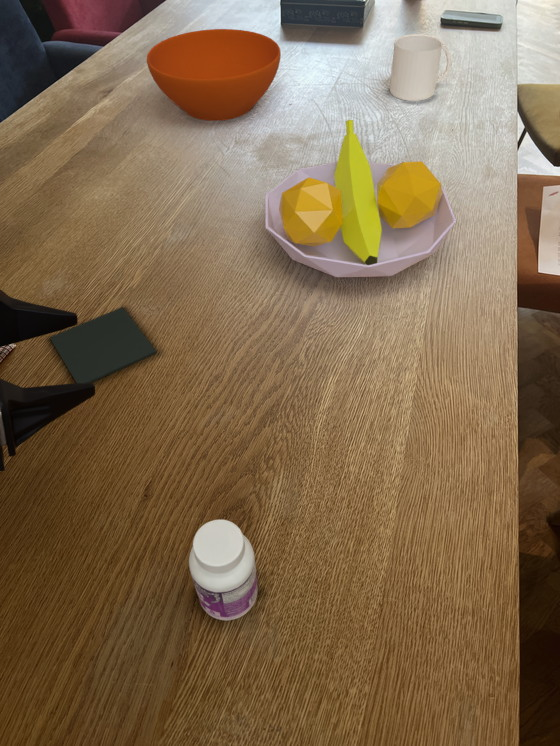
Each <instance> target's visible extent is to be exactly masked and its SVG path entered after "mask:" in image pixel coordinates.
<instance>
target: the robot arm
mask: <svg viewBox="0 0 560 746" xmlns="http://www.w3.org/2000/svg"><path fill="white" fill-rule="evenodd" d="M78 323H79V322H78V314H77V313H76V312H73V311H68V310H65V309H59V308H55V307H50V306H46V305H41V304H36V303H33V302H28V301H25V300H21V299H18V298H14V297H12V296H10V295H9V294H7V293H6V292H4V291H3V290H2V289H1V288H0V348H4V347H6V346H10V345H14V344H17V343H21V342H24V341H28V340H31V339H36V338H39V337H42V336H47V335H50V334H53V333H57V332H60V331H61V332H62V331H64V330H67V329H70V328H73V327H75V326H78ZM95 395H96V385H95V384H94V382H92V383H76V382H73V383H72V382H71V383H62V384H50V385H38V386H29V387H23V386H20V385H18V384H14V383H12V382H9V381H7V380H5V379H3V378H0V472H5V471H6V468H5V457H4V448H3V447H5V446H6V448H7V452H8V458H11V457H14V456H17V448H18V447H19V446H21V445H22V444H23V443H25V442H26V441H27V440H28V439H29V440H30V438H31V437H33V436H34V435H35V434H37V433H38V432H40V431H41V430H43V429H44V428H46V426H48V425H49V424H51V423H53V422H54V421H56V420H57V419H59V418H60V417H62V416H64V415H65V414H67V413H68V412H70V411H72V410H73V409H75V408H76V407H78V406H79V405H81V404H83V403H85V402H86V401H88V400H90V399H91V398H92V397H93V398H94V396H95Z"/></svg>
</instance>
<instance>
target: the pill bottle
mask: <svg viewBox="0 0 560 746" xmlns="http://www.w3.org/2000/svg"><path fill="white" fill-rule="evenodd" d="M188 567H189V572H190V575H191V578H192V581H193V585H194V588H195V591H196V594H197V597H198V600H199V603H200V606H201V607H202V609H203V611H204V612H206V614H208V616H210V617H212V618H213V619H216V620H220V621H233V620H237V619H239V618H241V617H243V616H245V615H246V614H247V613H248V612H249V611H250V610H251V609H252V607H253V606H254V605H255V603H256V600H257V597H258V574H257V565H256V557H255V551H254V549H253V546H252V543H251V542H250V540H249V539H248V538H247V537H246V535H244V534H243V532H242V530H241V529H240V527H239V526H238V525H237V524H235V523H234V522H232V521H230V520H227V519H221V518H219V519H213V520H210V521H208V522H205V523H204V524H203V525H202V526H200V527H199V529H198V530H197V531H196V532H195V534H194V536H193V541H192V547H191V549H190V551H189V556H188Z"/></svg>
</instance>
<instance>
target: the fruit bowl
mask: <svg viewBox="0 0 560 746" xmlns="http://www.w3.org/2000/svg"><path fill="white" fill-rule="evenodd" d="M345 130H346V134H345V135H344V136H343V140H342V144H341V147H340V151H339V155H338V159H337V161H332V162H328V163H322V164H317V165H313V166H308V167H302V168H298V169H296V170H295V171H294V172H292V173H291V174H290V175H289V176H287V177H286V178H284V179H283V180H281V182H279V183H278V184H277V185H275V186H274V187H273V188H272V189H270V190H269V191H267V192H266V193H265V194H264V195H265V197H264V198H265V229H266V230H267V231H268V232H269V234H270V235H271V236H272V237H273V238H274V239H275V240H276V242H277V244H279V245H280V246H281V248H282V249H283V250H284V251H285V253H286V254H287V255H288V257H290V259H291V260H292V261H294V262H297V263H299V264H302V265H305V266H306V267H309V268H311V269H313V270H314V269H315V270H317V271H319V272H322V273H325V274H327V275H329V276H331V277H334V278H361V277H362V278H366V277H367V278H370V277H373V278H374V277H392V276H394V275H396V274H398V273H400V272H402V271H404V270H406V269H408V268H409V267H412V266H414V265H415V264H418V263H419V262H421V261H424V260H425V259H427V258H429V257H430V256H433V255H434V254H435V253H437V250H438V249H439V248H440V246H441V244H442V243H443V241H444V240H445V239H446V237H447V236H448V234H450V231H451V230H452V228H454V226H455V224H456V223H457V219H456V217H455V214H454V211H453V209H452V206H451V204H450V201H449V199H448V195H447V193H446V190H445V188H444V187H442V184H441V182H440V181H439V180H438V178H437V177H436V176H435V175H434V173H432V171H431V170H430V169H429V168H428V166H427V165H426V163H424V161H403V162H400V163H398V164H397V163H396V164H391V163H381V162H374V161H369V160H368V158H367V156H366V154H365V151H364V149H363V147H362V145H361V142H360V140H359V138H358V136H357V133H355V131H354V119H347V120H345Z"/></svg>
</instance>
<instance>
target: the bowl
mask: <svg viewBox="0 0 560 746" xmlns="http://www.w3.org/2000/svg"><path fill="white" fill-rule="evenodd" d="M281 54H282V52H281V47H280V46H279V44H278V43H277V42H276V41H275V40H274V39H272V38H270V37H269V36H266V35H265V34H262V33H258V32H256V31H251V30H243V29H233V28H232V29H231V28H211V29H201V30H195V31H189V32H188V31H187V32H183V33H180V34H178V35H173V36H171V37H168V38H166V39H164V40H162V41H160V42H158V43H156V44H155V45H154V46H153V47H152V48H151V49H150V50H148V53H147V55H146V65H147V68H148V70H149V74H150V75H151V77H152V79H153V81H154V82H155V84H156V85H157V87H158V88H159V89H160V91H161V92H162V93H163V94H164V95H165V96H166V97H167V98H168V99H169V100H170V101H171V102H172V103H174V104H175V105H176V106H177V107H179V108H180V109H181V110H183V112H184V113H186V114H187V115H188V116H189V117H192V118H194V119H197V120H201V121H207V122H221V121H229V120H233V119H237V118H240V117H243V116H244V115H246V114H247V113H249V112H250V111H251V110H252V109H253V108H254V107H255V106H256V104H257V103H258V102H259V101H260V100H261V99H262V98H263V96H264V95H265V94H266V93H267V91H268V90H269V88H270V87H271V85H272V83H273V82H274V79H275V78H276V76H277V73H278V70H279V67H280V62H281V57H282V56H281Z"/></svg>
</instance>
